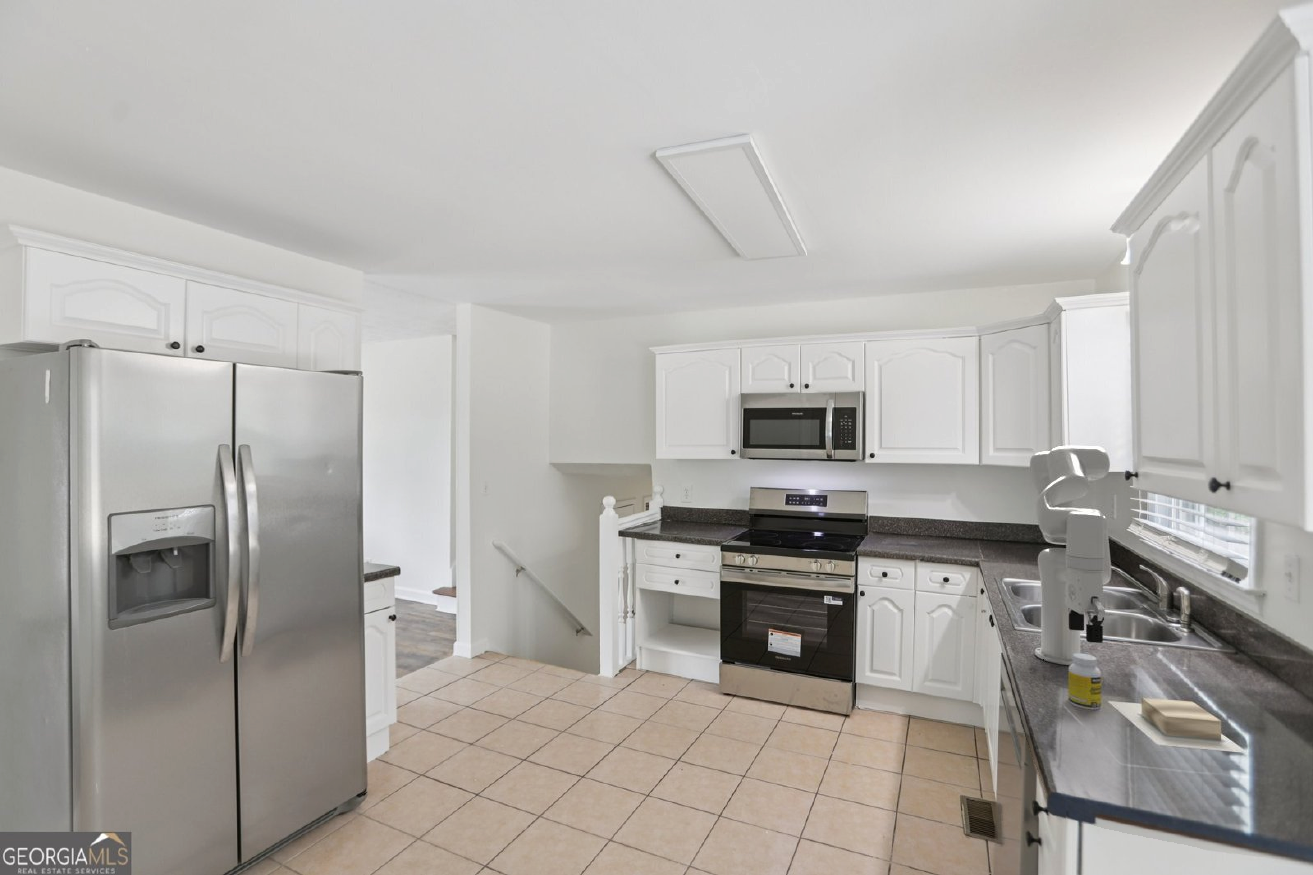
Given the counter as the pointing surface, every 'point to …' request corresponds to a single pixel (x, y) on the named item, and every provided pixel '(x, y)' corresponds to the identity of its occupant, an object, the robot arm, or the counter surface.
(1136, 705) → the off-white paper sheet
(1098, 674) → the pill bottle
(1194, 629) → the counter surface
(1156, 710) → the pedestal block
